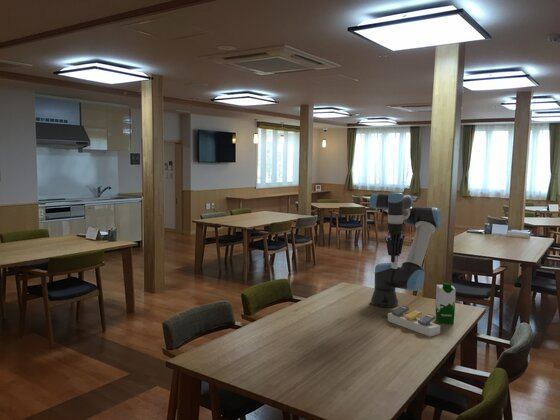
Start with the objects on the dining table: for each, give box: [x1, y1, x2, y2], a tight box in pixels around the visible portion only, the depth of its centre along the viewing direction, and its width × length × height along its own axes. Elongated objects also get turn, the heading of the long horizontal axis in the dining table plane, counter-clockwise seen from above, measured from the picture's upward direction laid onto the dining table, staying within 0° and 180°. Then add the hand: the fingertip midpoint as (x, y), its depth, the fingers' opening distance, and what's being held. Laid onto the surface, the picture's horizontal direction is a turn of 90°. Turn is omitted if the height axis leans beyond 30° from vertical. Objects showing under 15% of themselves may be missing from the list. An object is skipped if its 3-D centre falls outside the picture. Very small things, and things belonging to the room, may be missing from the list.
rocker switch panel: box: [379, 311, 441, 338], centre depth 231 cm, size 7×34×5 cm, turn 34°
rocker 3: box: [418, 313, 437, 325], centre depth 220 cm, size 8×4×1 cm, turn 124°
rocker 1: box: [391, 305, 410, 316], centre depth 234 cm, size 8×4×1 cm, turn 124°
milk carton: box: [435, 282, 457, 325], centre depth 236 cm, size 9×9×20 cm
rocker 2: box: [404, 309, 423, 320], centre depth 227 cm, size 8×4×1 cm, turn 124°
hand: (394, 268), depth 241 cm, fingers closed
